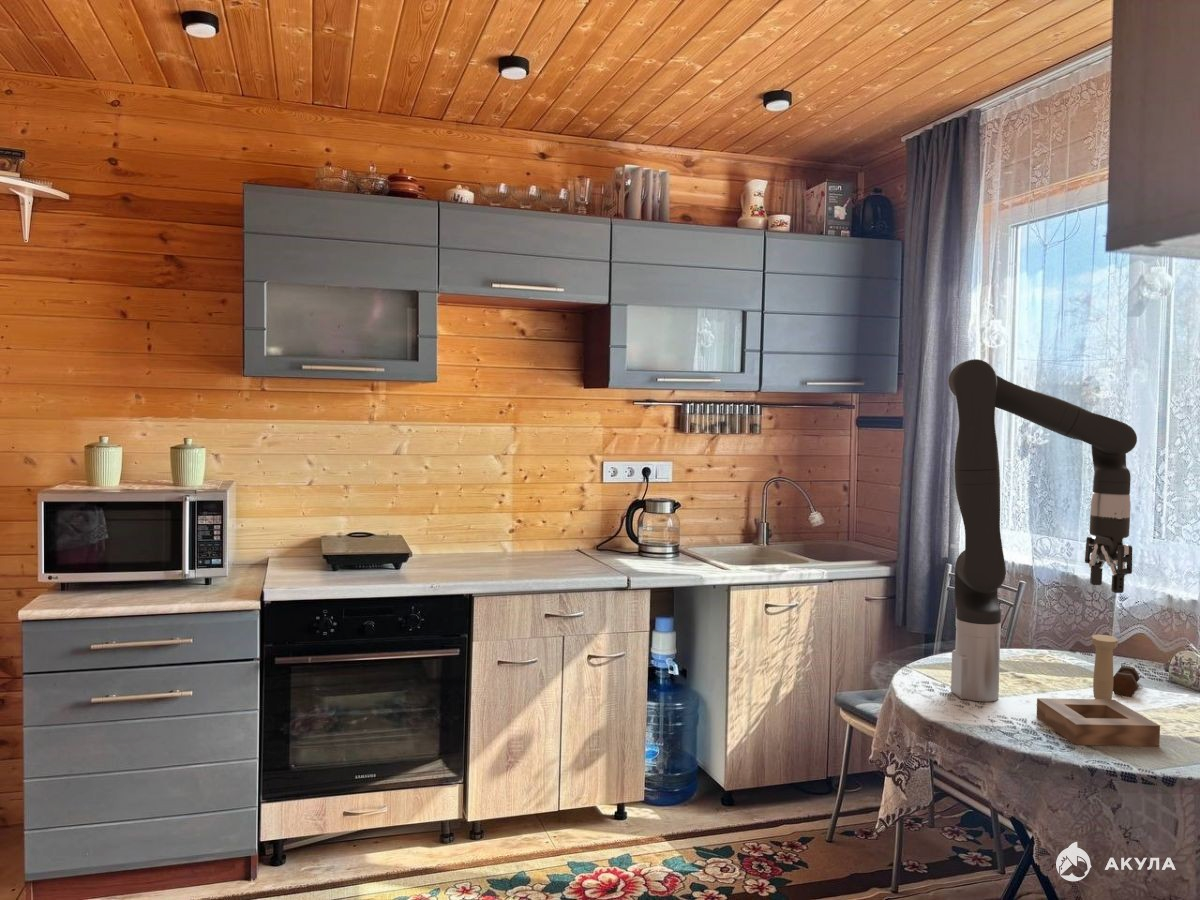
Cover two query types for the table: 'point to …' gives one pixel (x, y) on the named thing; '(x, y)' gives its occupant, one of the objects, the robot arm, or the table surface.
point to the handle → (1103, 666)
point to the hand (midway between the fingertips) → (1106, 588)
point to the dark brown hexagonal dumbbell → (1125, 681)
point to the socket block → (1098, 722)
